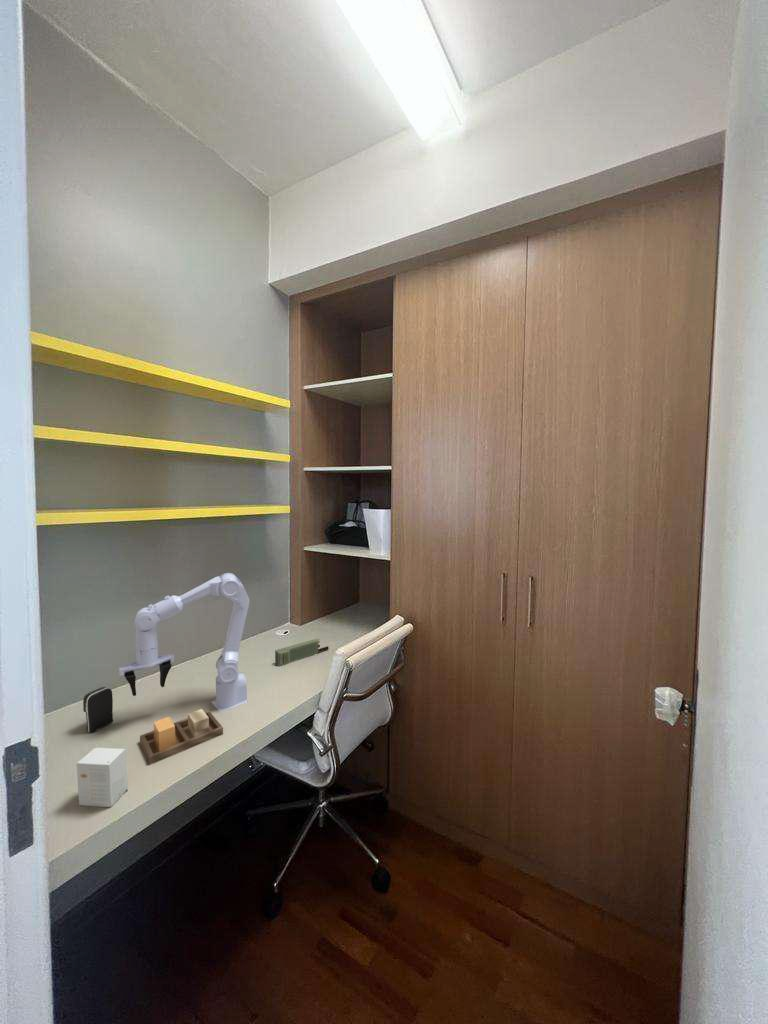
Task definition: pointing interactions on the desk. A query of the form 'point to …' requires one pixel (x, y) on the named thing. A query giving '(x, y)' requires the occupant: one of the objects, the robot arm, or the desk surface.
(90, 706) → the battery charger
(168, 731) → the plug block
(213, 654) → the desk surface
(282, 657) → the handheld radio
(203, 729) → the maple block
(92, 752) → the small box
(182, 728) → the slot rack
